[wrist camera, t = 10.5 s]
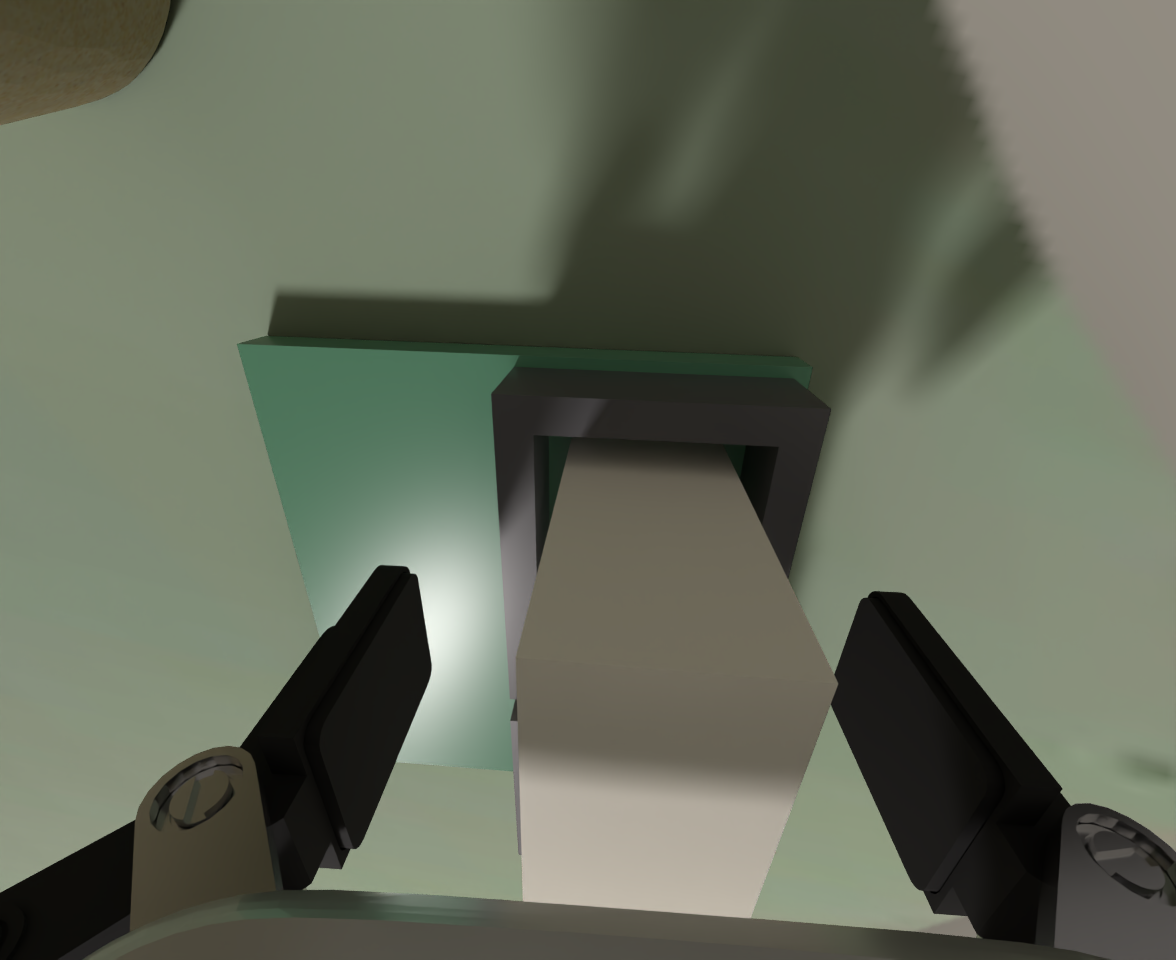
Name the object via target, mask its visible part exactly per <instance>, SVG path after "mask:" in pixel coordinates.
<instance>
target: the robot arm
mask: <svg viewBox="0 0 1176 960" xmlns="http://www.w3.org/2000/svg"><path fill="white" fill-rule="evenodd" d="M431 671H432V662H431V656H430V650H429V644H428V637H427V631H426V625H425V619H424V612H423V606H422V600H421V594H420V587H419V581H418V577H417V575H416V574H413V573H410V570H409V568H408V567H406V566H392V565H379V566H378V567H377V568H376V569H375V570H374V571H373V573H372V574H371V576H370V577H369V578H368V580H367V581H366V583H365V584H364V585H363V587H362V588H361V590H360V591H359V592H358V594H357V595H356V597H355V598H354V599H353V601H352V602H351V604H350V605H349V606H348V608H347V609H346V611H345V612H344V613H343V615H342V616H341V618H340V619H339V620H338V622H337V623H336V625H335V626H332V627H330V628H328V629H327V630H326V631H325V632H324V633H323V634H322V635H321V637H320V638H319V640H318V641H317V642H316V644H315V645H314V646H313V648H312V649H311V650H310V652H309V653H308V655H307V656H306V657H305V659H304V660H303V661H302V663H301V664H300V666H299V667H298V668H297V670H296V671H295V672H294V674H293V675H292V676H291V678H290V679H289V681H288V682H287V683H286V685H285V686H284V687H283V689H282V690H281V692H280V693H279V694H278V696H277V697H276V698H275V700H274V701H273V702H272V704H271V705H270V707H269V708H268V709H267V711H266V712H265V713H264V715H263V716H262V717H261V719H260V720H259V722H258V723H257V724H256V726H255V727H254V728H253V730H252V731H251V733H250V734H249V735H248V737H247V738H246V739H245V741H244V742H243V743H242V745H241V746H240V748H239V747H232V746H225V747H217V748H212V749H209V750H206V751H203V752H201V753H198V754H195V755H194V756H192V757H190V758H188V759H186V760H185V761H183V762H181V763H179V764H178V765H176V766H175V767H174V768H172V769H171V770H170V771H169V772H167V773H166V774H165V775H163V776H162V777H161V778H160V779H159V780H158V782H157V783H156V784H155V785H154V786H153V787H152V788H151V789H150V790H149V791H148V793H147V794H146V796H145V798H144V799H143V801H142V803H141V804H140V806H139V808H138V812H137V816H136V820H134V821H132V822H130V823H128V824H127V825H125V826H123V827H121V828H119V829H117V830H116V831H114V832H112V833H110V834H108V835H106V836H104V837H103V838H101V839H99V840H97V841H95V842H93V843H91V844H90V845H88V846H86V847H84V848H82V849H80V850H79V851H77V852H75V853H73V854H71V855H69V856H67V857H66V858H64V859H62V860H60V861H58V862H56V863H54V864H53V865H51V866H49V867H47V868H45V869H43V870H42V871H40V872H38V873H36V874H34V875H32V876H30V877H29V878H27V879H25V880H23V881H21V882H19V883H17V884H16V885H14V886H12V887H10V888H8V889H6V890H5V891H3V892H1V893H0V960H1176V852H1175V851H1174V850H1173V849H1172V848H1171V847H1170V846H1169V845H1168V844H1167V843H1165V842H1164V841H1163V840H1162V839H1160V838H1159V837H1158V836H1156V835H1155V834H1154V833H1153V832H1151V831H1150V830H1149V829H1147V828H1145V827H1144V826H1142V825H1141V824H1139V823H1137V822H1136V821H1134V820H1132V819H1131V818H1129V817H1127V816H1125V815H1123V814H1121V813H1118V812H1116V811H1114V810H1112V809H1109V808H1106V807H1102V806H1098V805H1094V804H1091V803H1082V804H1074V805H1072V806H1071V805H1070V804H1069V803H1068V802H1067V800H1066V799H1065V798H1064V797H1063V795H1062V794H1061V793H1060V792H1061V790H1062V787H1061V786H1060V785H1059V784H1058V782H1057V781H1056V780H1055V779H1054V777H1053V776H1052V775H1051V774H1050V772H1049V771H1048V770H1047V769H1046V767H1045V766H1044V765H1043V764H1042V762H1041V761H1040V760H1039V759H1038V757H1037V756H1036V755H1035V754H1034V752H1033V751H1032V750H1031V749H1030V747H1029V746H1028V745H1027V744H1026V742H1025V741H1024V740H1023V739H1022V737H1021V736H1020V735H1019V734H1018V732H1017V731H1016V730H1015V729H1014V727H1013V726H1012V725H1011V724H1010V722H1009V721H1008V720H1007V719H1006V717H1005V716H1004V715H1003V714H1002V712H1001V711H1000V710H999V709H998V707H997V706H996V705H995V704H994V702H993V701H992V700H991V699H990V697H989V696H988V695H987V694H986V692H985V691H984V690H983V689H982V687H981V686H980V685H979V684H978V682H977V681H976V680H975V679H974V677H973V676H972V675H971V674H970V672H969V671H968V670H967V669H966V667H965V666H964V665H963V664H962V663H961V661H960V660H959V659H958V658H957V656H956V655H955V654H954V653H953V651H952V650H951V649H950V648H949V646H948V645H947V644H946V643H945V641H944V640H943V639H942V638H941V636H940V635H939V634H938V633H937V631H936V630H935V629H934V628H933V626H932V625H931V624H930V623H929V621H928V620H927V619H926V618H925V616H924V615H923V614H922V613H921V611H920V610H919V609H918V608H917V606H916V605H915V604H914V603H913V601H912V600H911V599H910V598H909V597H908V596H907V595H906V594H904V593H899V592H880V591H874V592H872V593H870V594H869V596H868V598H863V599H862V600H861V601H860V603H859V606H858V609H857V611H856V614H855V617H854V620H853V623H852V626H851V629H850V631H849V634H848V637H847V640H846V643H845V646H844V649H843V651H842V654H841V657H840V660H839V663H838V666H837V669H836V671H835V674H834V676H835V678H836V680H837V682H838V686H837V689H836V691H835V694H834V697H833V699H832V702H831V706H832V708H833V711H834V713H835V715H836V717H837V719H838V722H839V724H840V726H841V728H842V730H843V733H844V735H845V737H846V739H847V742H848V744H849V746H850V748H851V750H852V753H853V755H854V757H855V759H856V761H857V764H858V766H859V768H860V770H861V772H862V775H863V777H864V779H865V781H866V783H867V786H868V788H869V790H870V792H871V794H872V797H873V799H874V801H875V803H876V805H877V808H878V810H879V812H880V814H881V816H882V819H883V821H884V823H885V825H886V828H887V830H888V832H889V834H890V836H891V839H892V841H893V843H894V845H895V847H896V850H897V852H898V854H899V856H900V858H901V861H902V863H903V865H904V867H905V869H906V872H907V874H908V876H909V878H910V880H911V882H912V883H913V885H914V886H915V887H916V888H917V889H919V890H922V891H924V894H925V896H926V898H927V900H928V902H929V904H930V906H931V909H932V911H933V913H934V914H946V915H960V916H968V918H969V920H970V922H971V924H972V925H973V928H974V929H975V931H976V933H977V937H976V938H971V937H962V936H952V935H942V934H932V933H923V932H912V931H899V930H887V929H875V928H863V927H850V926H838V925H826V924H814V923H801V922H789V921H777V920H765V919H752V918H739V917H726V916H713V915H700V914H687V913H674V912H661V911H647V910H634V909H621V908H608V907H594V906H581V905H567V904H553V903H539V902H525V901H510V900H496V899H482V898H468V897H454V896H439V895H424V894H404V893H384V892H364V891H344V890H307V889H306V887H307V886H308V885H310V884H311V883H312V881H313V879H314V877H315V875H316V873H317V870H318V868H332V869H342V867H343V865H344V862H345V860H346V858H347V856H348V853H349V851H350V849H357V848H358V847H359V846H360V844H361V843H362V841H363V839H364V837H365V834H366V832H367V830H368V827H369V825H370V822H371V820H372V818H373V815H374V813H375V810H376V808H377V806H378V803H379V801H380V798H381V796H382V794H383V791H384V789H385V786H386V784H387V782H388V779H389V777H390V774H391V772H392V770H393V767H394V765H395V762H396V760H397V758H398V755H399V753H400V750H401V748H402V746H403V743H404V741H405V738H406V736H407V734H408V731H409V729H410V726H411V724H412V722H413V719H414V717H415V714H416V712H417V710H418V707H419V705H420V702H421V700H422V698H423V695H424V693H425V690H426V688H427V686H428V683H429V680H430V677H431Z"/></svg>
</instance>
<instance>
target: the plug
mask: <svg viewBox="0 0 1176 960" xmlns="http://www.w3.org/2000/svg"><path fill="white" fill-rule="evenodd" d="M516 686H517V719H518V752H519V786H520V819H521V852H522V885H523V901H525V902H539V903H553V904H567V905H581V906H594V907H608V908H621V909H634V910H647V911H661V912H674V913H687V914H700V915H713V916H726V917H739V918H751V916H752V913H753V910H754V908H755V905H756V902H757V900H758V897H759V894H760V892H761V889H762V886H763V884H764V881H765V878H766V876H767V873H768V870H769V868H770V865H771V862H772V859H773V857H774V854H775V851H776V849H777V846H778V843H779V841H780V838H781V835H782V833H783V830H784V827H785V825H786V822H787V819H788V817H789V814H790V811H791V809H792V806H793V803H794V801H795V798H796V795H797V793H798V790H799V787H800V785H801V782H802V779H803V777H804V774H805V771H806V769H807V766H808V763H809V761H810V758H811V755H812V753H813V750H814V747H815V745H816V742H817V739H818V737H819V734H820V731H821V729H822V726H823V723H824V721H825V718H826V715H827V713H828V710H829V707H830V705H831V702H832V699H833V697H834V694H835V691H836V689H837V686H838V682H837V680H836V678H835V676H834V674H833V672H832V669H831V667H830V665H829V663H828V661H827V659H826V657H825V655H824V653H823V651H822V649H821V647H820V645H819V643H818V641H817V638H816V636H815V634H814V632H813V630H812V628H811V626H810V624H809V622H808V620H807V618H806V616H805V614H804V612H803V609H802V607H801V605H800V603H799V601H798V599H797V597H796V595H795V593H794V591H793V589H792V587H791V585H790V583H789V580H788V578H787V576H786V574H785V572H784V570H783V568H782V566H781V564H780V562H779V560H778V558H777V556H776V554H775V552H774V549H773V547H772V545H771V543H770V541H769V539H768V537H767V535H766V533H765V531H764V529H763V527H762V525H761V523H760V520H759V518H758V516H757V514H756V512H755V510H754V508H753V506H752V504H751V502H750V500H749V498H748V496H747V494H746V492H745V489H744V487H743V485H742V483H741V481H740V479H739V477H738V475H737V473H736V471H735V469H734V467H733V465H732V463H731V460H730V458H729V456H728V454H727V452H726V450H725V448H724V446H723V444H709V443H689V442H668V441H647V440H626V439H605V438H585V437H572V439H571V443H570V447H569V450H568V454H567V458H566V462H565V466H564V470H563V474H562V478H561V482H560V486H559V490H558V494H557V498H556V501H555V505H554V509H553V513H552V517H551V521H550V525H549V529H548V533H547V537H546V541H545V545H544V549H543V552H542V556H541V560H540V564H539V568H538V572H537V576H536V580H535V584H534V588H533V592H532V596H531V600H530V603H529V607H528V611H527V615H526V619H525V623H524V627H523V631H522V635H521V639H520V643H519V647H518V650H517V654H516Z"/></svg>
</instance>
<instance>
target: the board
mask: <svg viewBox="0 0 1176 960" xmlns="http://www.w3.org/2000/svg"><path fill="white" fill-rule="evenodd" d="M237 346H238V350H239V353H240V357H241V360H242V364H243V367H244V371H245V374H246V378H247V381H248V385H249V388H250V392H251V396H252V399H253V403H254V406H255V410H256V413H257V417H258V420H259V424H260V427H261V431H262V434H263V438H264V442H265V445H266V449H267V452H268V456H269V459H270V463H271V466H272V470H273V473H274V477H275V481H276V484H277V488H278V491H279V495H280V498H281V502H282V505H283V509H284V512H285V516H286V519H287V523H288V527H289V530H290V534H291V537H292V541H293V544H294V548H295V551H296V555H297V558H298V562H299V565H300V569H301V573H302V576H303V580H304V583H305V587H306V590H307V594H308V597H309V601H310V604H311V608H312V611H313V615H314V619H315V622H316V626H317V629H318V633H319V636H320V637H321V635H322V634H323V633H324V632H325V631H326V630H327V629H328V628H330V627H332V626H335V625H336V623H337V622H338V620H339V619H340V618H341V616H342V615H343V613H344V612H345V611H346V609H347V608H348V606H349V605H350V604H351V602H352V601H353V599H354V598H355V597H356V595H357V594H358V592H359V591H360V590H361V588H362V587H363V585H364V584H365V583H366V581H367V580H368V578H369V577H370V576H371V574H372V573H373V571H374V570H375V569H376V568H377V567H378V566H379V565H392V566H406V567H408V568H409V570H410V573H413V574H416V575H417V577H418V581H419V587H420V594H421V600H422V606H423V612H424V619H425V625H426V631H427V637H428V644H429V650H430V656H431V662H432V671H431V677H430V680H429V683H428V686H427V688H426V690H425V693H424V695H423V698H422V700H421V702H420V705H419V707H418V710H417V712H416V714H415V717H414V719H413V722H412V724H411V726H410V729H409V731H408V734H407V736H406V738H405V741H404V743H403V746H402V748H401V750H400V753H399V755H398V758H397V760H396V762H402V763H414V764H427V765H440V766H452V767H465V768H478V769H490V770H503V771H513V757H512V742H511V726H510V719H511V715H512V711H513V707H514V702H515V700H517V686H516V654H517V650H518V647H519V643H520V639H521V635H522V631H523V627H524V623H525V619H526V615H527V611H528V607H529V603H530V600H531V596H532V592H533V588H534V584H535V580H536V576H537V572H538V568H539V564H540V560H541V556H542V552H543V549H544V545H545V541H546V537H547V533H548V529H549V525H550V521H551V517H552V513H553V509H554V505H555V501H556V498H557V494H558V490H559V486H560V482H561V478H562V474H563V470H564V466H565V462H566V458H567V454H568V450H569V447H570V443H571V439H572V437H585V438H605V439H626V440H647V441H668V442H689V443H709V444H723V446H724V448H725V450H726V452H727V454H728V456H729V458H730V460H731V463H732V465H733V467H734V469H735V471H736V473H737V475H738V477H739V479H740V481H741V483H742V485H743V487H744V489H745V492H746V494H747V496H748V498H749V500H750V502H751V504H752V506H753V508H754V510H755V512H756V514H757V516H758V518H759V520H760V523H761V525H762V527H763V529H764V531H765V533H766V535H767V537H768V539H769V541H770V543H771V545H772V547H773V549H774V552H775V554H776V556H777V558H778V560H779V562H780V564H781V566H782V568H783V570H784V572H785V574H786V576H787V578H788V577H789V573H790V569H791V565H792V561H793V557H794V553H795V550H796V546H797V542H798V538H799V534H800V530H801V526H802V522H803V518H804V514H805V510H806V506H807V502H808V498H809V495H810V491H811V487H812V483H813V479H814V475H815V471H816V467H817V463H818V459H819V455H820V451H821V447H822V444H823V440H824V436H825V432H826V428H827V424H828V420H829V416H830V412H831V408H829V407H828V406H827V405H826V404H824V403H823V402H822V401H821V400H820V399H818V398H817V397H816V396H815V395H814V394H812V393H811V392H810V391H809V390H808V386H809V382H810V378H811V373H812V369H813V367H811V366H810V365H808V364H807V363H806V362H804V361H803V360H801V359H800V358H798V357H783V356H757V355H732V354H707V353H682V352H657V351H632V350H607V349H582V348H557V347H532V346H507V345H482V344H457V343H432V342H407V341H382V340H357V339H332V338H307V337H282V336H264V337H260V338H257V339H253V340H249V341H246V342H242V343H239V344H237Z"/></svg>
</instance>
